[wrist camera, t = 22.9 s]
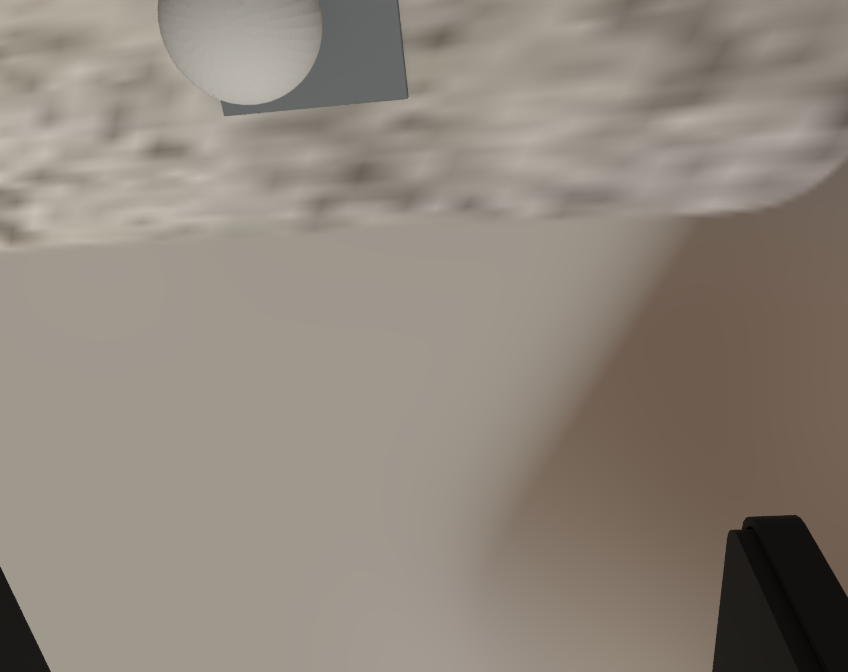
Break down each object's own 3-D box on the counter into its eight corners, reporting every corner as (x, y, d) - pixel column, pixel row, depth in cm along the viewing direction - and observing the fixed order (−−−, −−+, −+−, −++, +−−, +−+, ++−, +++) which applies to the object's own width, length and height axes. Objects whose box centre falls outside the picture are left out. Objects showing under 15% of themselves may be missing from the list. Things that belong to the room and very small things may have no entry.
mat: (385, -121, 32) (383, -122, 31) (408, 96, 36) (407, 98, 35) (182, -96, 33) (177, -97, 32) (227, 113, 37) (224, 116, 36)
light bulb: (351, -62, 32) (299, -68, 23) (352, 80, 35) (306, 123, 26) (218, -67, 33) (116, -75, 24) (229, 74, 35) (142, 114, 26)
